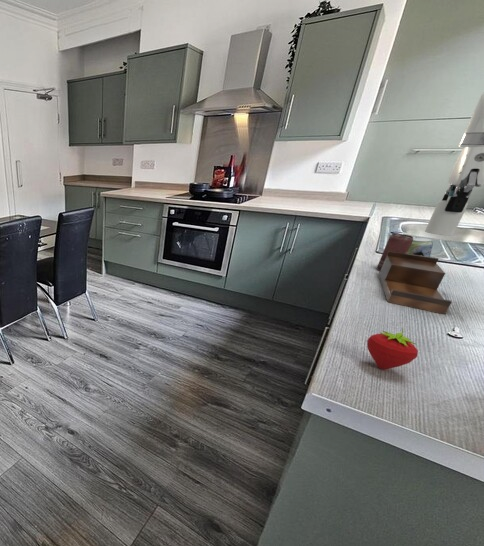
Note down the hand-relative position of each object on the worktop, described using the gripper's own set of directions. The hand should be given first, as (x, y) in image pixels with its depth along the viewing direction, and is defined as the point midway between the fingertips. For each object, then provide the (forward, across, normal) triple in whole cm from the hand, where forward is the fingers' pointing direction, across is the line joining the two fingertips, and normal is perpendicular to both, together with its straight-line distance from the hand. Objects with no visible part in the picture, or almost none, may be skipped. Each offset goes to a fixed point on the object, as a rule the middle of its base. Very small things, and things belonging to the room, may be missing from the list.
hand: (449, 209), depth 88 cm
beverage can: (+28, +32, -5) cm, 43 cm away
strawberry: (+28, -53, +11) cm, 60 cm away
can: (+28, +23, +3) cm, 36 cm away
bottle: (+7, 0, 0) cm, 7 cm away
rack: (+27, +2, 0) cm, 27 cm away
